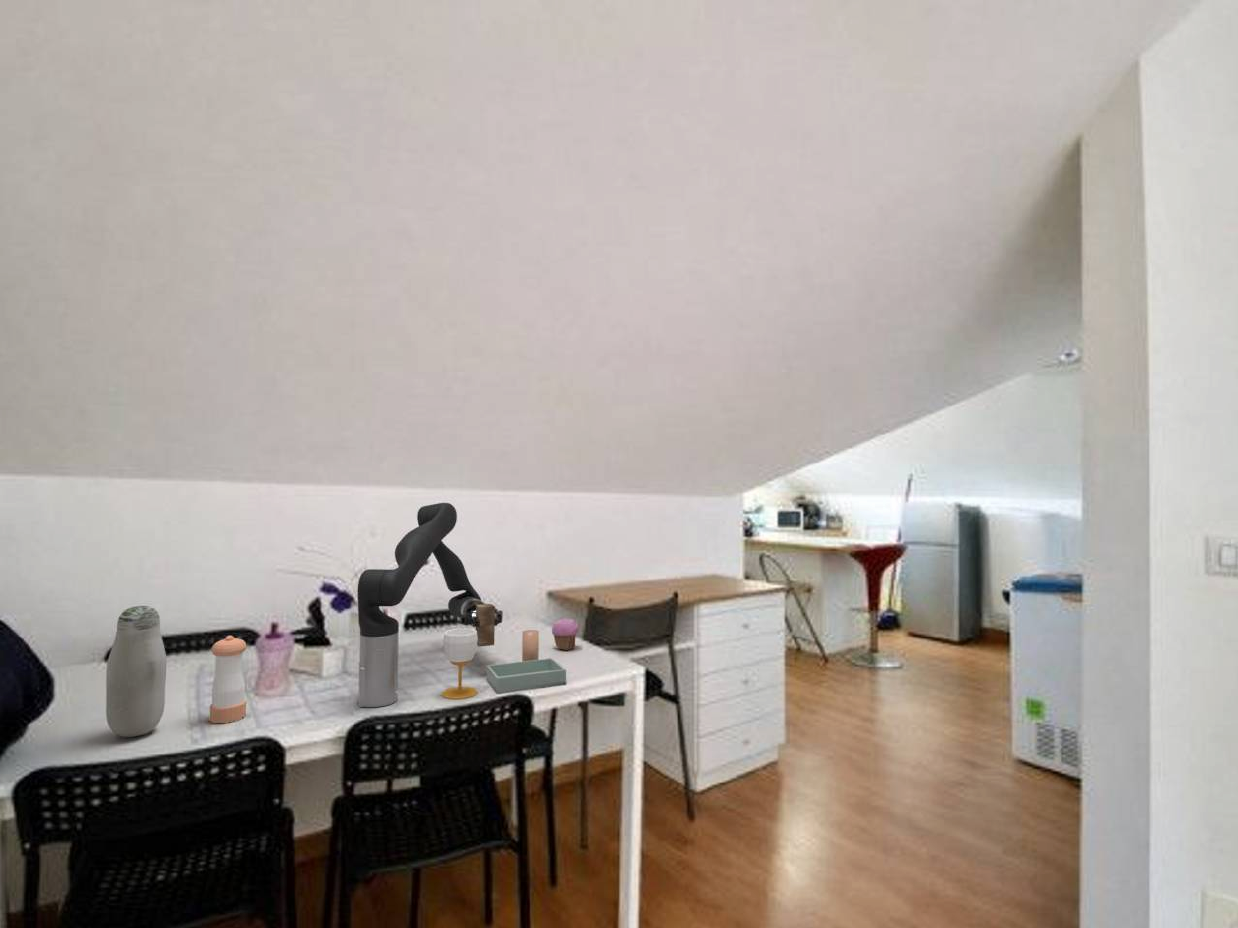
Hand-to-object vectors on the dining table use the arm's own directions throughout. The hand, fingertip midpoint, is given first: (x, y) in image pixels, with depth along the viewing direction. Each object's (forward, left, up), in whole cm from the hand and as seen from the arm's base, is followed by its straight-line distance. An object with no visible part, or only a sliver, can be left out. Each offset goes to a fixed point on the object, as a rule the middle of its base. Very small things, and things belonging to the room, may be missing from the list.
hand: (487, 622), depth 181 cm
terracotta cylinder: (+14, +3, -16) cm, 21 cm away
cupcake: (+31, +20, -16) cm, 40 cm away
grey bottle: (-79, -9, -16) cm, 81 cm away
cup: (-9, -10, -16) cm, 21 cm away
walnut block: (0, +3, -7) cm, 7 cm away
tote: (+9, -8, -16) cm, 20 cm away
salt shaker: (-62, -6, -16) cm, 65 cm away
